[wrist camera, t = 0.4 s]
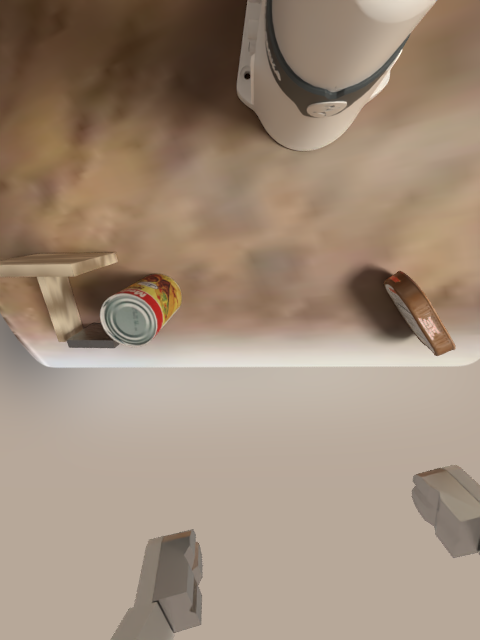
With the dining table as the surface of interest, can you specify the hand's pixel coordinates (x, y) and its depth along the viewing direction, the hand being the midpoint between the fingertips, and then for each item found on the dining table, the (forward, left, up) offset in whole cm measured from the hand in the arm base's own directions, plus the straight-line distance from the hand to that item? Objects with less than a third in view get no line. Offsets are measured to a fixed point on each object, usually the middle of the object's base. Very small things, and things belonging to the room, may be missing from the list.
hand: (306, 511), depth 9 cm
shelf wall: (+3, -33, -36) cm, 49 cm away
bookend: (+9, -30, -36) cm, 48 cm away
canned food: (+3, -19, -36) cm, 41 cm away
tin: (+5, +23, -36) cm, 43 cm away
